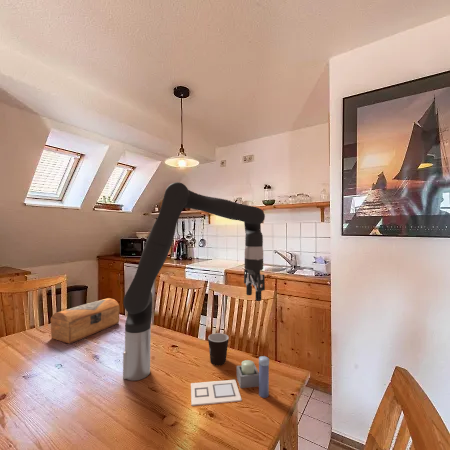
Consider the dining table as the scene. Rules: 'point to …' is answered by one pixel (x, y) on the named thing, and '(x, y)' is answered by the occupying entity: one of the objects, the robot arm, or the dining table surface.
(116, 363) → the dining table surface
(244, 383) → the button housing
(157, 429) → the dining table surface
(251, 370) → the button
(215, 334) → the coffee mug
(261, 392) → the marker
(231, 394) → the sheet
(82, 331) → the wooden box
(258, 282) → the robot arm
